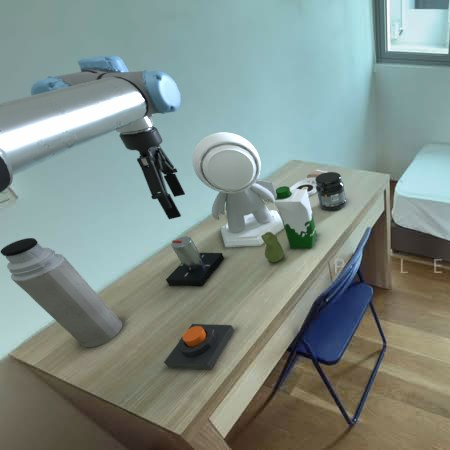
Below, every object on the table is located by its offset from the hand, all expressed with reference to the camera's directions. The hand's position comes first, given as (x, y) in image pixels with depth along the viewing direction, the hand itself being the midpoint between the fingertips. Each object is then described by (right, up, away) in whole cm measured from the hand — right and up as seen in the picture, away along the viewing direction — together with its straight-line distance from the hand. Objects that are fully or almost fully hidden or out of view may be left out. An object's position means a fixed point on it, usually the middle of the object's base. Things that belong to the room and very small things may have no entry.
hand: (177, 205), depth 86 cm
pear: (+23, -16, +11) cm, 30 cm away
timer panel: (+1, -19, +7) cm, 21 cm away
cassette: (+6, +6, +44) cm, 45 cm away
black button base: (+16, -34, -14) cm, 40 cm away
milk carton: (+30, -11, +18) cm, 36 cm away
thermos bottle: (-12, -32, -10) cm, 36 cm away
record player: (+22, +11, +50) cm, 56 cm away
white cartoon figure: (+9, -7, +25) cm, 27 cm away
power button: (+16, -31, -16) cm, 39 cm away
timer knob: (+1, -17, +6) cm, 18 cm away
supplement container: (+35, +3, +37) cm, 51 cm away
